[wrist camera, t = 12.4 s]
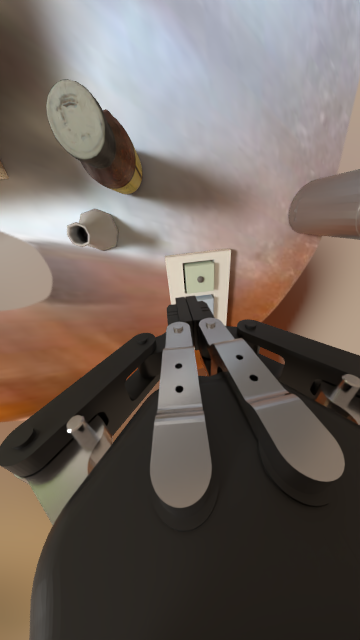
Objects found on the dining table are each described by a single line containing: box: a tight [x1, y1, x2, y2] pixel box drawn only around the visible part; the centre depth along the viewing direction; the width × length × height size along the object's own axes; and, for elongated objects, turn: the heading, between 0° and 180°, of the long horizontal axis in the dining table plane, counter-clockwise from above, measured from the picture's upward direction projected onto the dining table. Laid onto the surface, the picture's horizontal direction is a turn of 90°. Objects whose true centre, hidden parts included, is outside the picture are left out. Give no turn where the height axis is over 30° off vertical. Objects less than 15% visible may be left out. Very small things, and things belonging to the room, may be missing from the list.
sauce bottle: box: [46, 79, 142, 194], centre depth 20 cm, size 7×6×20 cm
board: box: [165, 249, 231, 349], centre depth 43 cm, size 14×26×2 cm, turn 5°
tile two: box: [195, 294, 214, 314], centre depth 42 cm, size 6×6×3 cm
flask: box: [67, 209, 118, 251], centre depth 28 cm, size 7×7×10 cm
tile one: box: [184, 261, 214, 294], centre depth 37 cm, size 6×6×3 cm
